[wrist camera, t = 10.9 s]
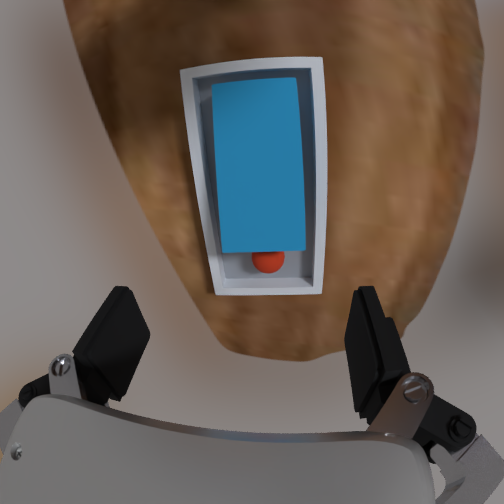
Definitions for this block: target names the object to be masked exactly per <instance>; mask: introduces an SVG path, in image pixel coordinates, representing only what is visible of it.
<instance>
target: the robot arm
mask: <svg viewBox="0 0 504 504" xmlns="http://www.w3.org/2000/svg"><path fill="white" fill-rule="evenodd" d="M149 338H150V331H149V329H148V327H147V324H146V322H145V320H144V318H143V316H142V313H141V311H140V309H139V306H138V304H137V302H136V299H135V297H134V295H133V292H132V291H131V290H130V289H129V288H128V287H126V286H115V287H114V288H113V290H112V291H111V293H110V294H109V295H108V297H107V298H106V300H105V301H104V303H103V304H102V306H101V307H100V309H99V310H98V312H97V313H96V315H95V316H94V318H93V319H92V321H91V322H90V324H89V325H88V327H87V329H86V330H85V332H84V333H83V335H82V336H81V338H80V340H79V341H78V343H77V344H76V346H75V348H74V350H73V351H72V352H73V353H74V356H73V357H72V356H71V355H68V354H61V355H59V356H57V357H56V358H55V359H54V360H53V361H52V362H51V364H50V366H49V373H48V374H46V375H44V376H42V377H40V378H38V379H36V380H34V381H32V382H30V383H28V384H26V385H25V386H24V387H23V388H22V389H21V391H20V393H19V400H17V399H15V400H14V401H13V402H12V403H11V404H10V405H8V406H7V407H6V408H5V409H4V410H3V411H2V412H1V413H0V448H1V451H2V453H3V458H2V461H1V464H0V504H483V503H484V502H485V501H486V500H487V499H488V497H489V496H490V495H491V494H492V492H493V491H494V490H495V489H496V487H497V486H498V485H499V483H500V482H501V481H502V479H503V477H504V460H503V459H502V458H501V456H500V455H499V454H498V453H497V452H496V451H495V449H494V448H493V447H492V446H491V445H490V444H489V442H488V441H487V440H486V439H485V438H484V437H483V436H482V434H481V435H480V436H478V435H477V433H476V423H475V421H474V419H473V418H472V417H471V416H470V415H469V414H467V413H465V412H464V411H462V410H460V409H459V408H457V407H455V406H453V405H452V404H450V403H448V402H446V401H445V400H443V399H441V398H440V397H438V396H436V395H434V386H433V384H432V382H431V380H430V379H429V378H428V377H427V376H425V375H424V374H421V373H417V372H415V373H414V372H412V373H411V371H410V368H409V365H408V361H407V358H406V355H405V352H404V349H403V346H402V343H401V340H400V337H399V334H398V331H397V329H396V326H395V323H394V321H393V319H392V318H391V317H387V318H385V315H384V312H383V310H382V307H381V304H380V301H379V299H378V296H377V293H376V291H375V288H374V286H360V287H359V288H358V290H354V293H353V298H352V303H351V309H350V314H349V318H348V323H347V328H346V332H345V338H344V341H345V348H346V354H347V360H348V366H349V373H350V380H351V387H352V394H353V402H354V409H355V412H359V415H360V419H361V418H367V423H368V424H369V425H370V426H369V427H368V429H367V430H366V431H352V432H330V433H303V434H302V433H301V434H280V433H277V434H276V433H251V432H237V431H225V430H216V429H208V428H201V427H194V426H187V425H181V424H176V423H170V422H165V421H160V420H155V419H151V418H146V417H142V416H137V415H133V414H130V413H126V412H122V411H119V410H115V409H112V408H110V407H109V404H108V399H109V398H110V399H112V400H116V401H119V402H120V401H121V398H122V396H124V395H125V394H126V392H127V390H128V387H129V385H130V382H131V380H132V378H133V375H134V373H135V370H136V368H137V366H138V364H139V361H140V359H141V356H142V354H143V352H144V350H145V348H146V345H147V343H148V341H149ZM429 462H430V463H433V464H437V465H438V466H439V467H440V469H441V471H440V472H441V473H442V475H443V476H444V478H445V480H446V486H445V489H444V491H443V493H442V494H441V495H440V496H439V497H438V498H437V499H436V500H435V491H434V483H433V478H432V473H431V469H430V465H429Z"/></svg>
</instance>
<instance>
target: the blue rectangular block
mask: <svg viewBox="0 0 504 504" xmlns="http://www.w3.org/2000/svg"><path fill="white" fill-rule="evenodd" d="M212 107H213V128H214V146H215V163H216V178H217V193H218V206H219V219H220V231H221V243H222V252H223V253H237V252H252V262H253V265H254V266H255V268H256V269H257V270H259V271H260V272H262V273H267V274H269V273H274V272H276V271H278V270H279V269H280V268H281V267H282V265H283V264H284V259H285V255H284V251H305V250H306V235H305V198H304V174H303V156H302V140H301V126H300V114H299V102H298V92H297V82H296V78H295V77H292V78H268V79H254V80H243V81H234V82H226V83H218V84H212Z"/></svg>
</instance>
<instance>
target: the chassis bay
mask: <svg viewBox="0 0 504 504" xmlns="http://www.w3.org/2000/svg"><path fill="white" fill-rule="evenodd" d="M180 77H181V86H182V95H183V103H184V111H185V119H186V126H187V134H188V141H189V148H190V155H191V162H192V168H193V175H194V181H195V187H196V193H197V199H198V205H199V211H200V216H201V222H202V228H203V233H204V239H205V244H206V249H207V254H208V259H209V265H210V270H211V274H212V279H213V284H214V289H215V294H216V295H295V294H322V283H323V270H324V255H325V237H326V212H327V126H326V102H325V85H324V72H323V60H322V57H276V58H259V59H247V60H238V61H229V62H222V63H215V64H209V65H203V66H197V67H192V68H187V69H182V70H180ZM292 77H295V78H296V82H297V92H298V102H299V114H300V126H301V140H302V156H303V174H304V198H305V235H306V250H305V251H284V255H285V259H284V264H283V265H282V267H281V268H280V269H279V270H278V271H276V272H274V273H269V274H267V273H262V272H260V271H259V270H257V269H256V268H255V266H254V265H253V262H252V252H237V253H223V252H222V243H221V231H220V219H219V206H218V193H217V178H216V163H215V146H214V128H213V107H212V84H218V83H226V82H234V81H243V80H254V79H268V78H292Z"/></svg>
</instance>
